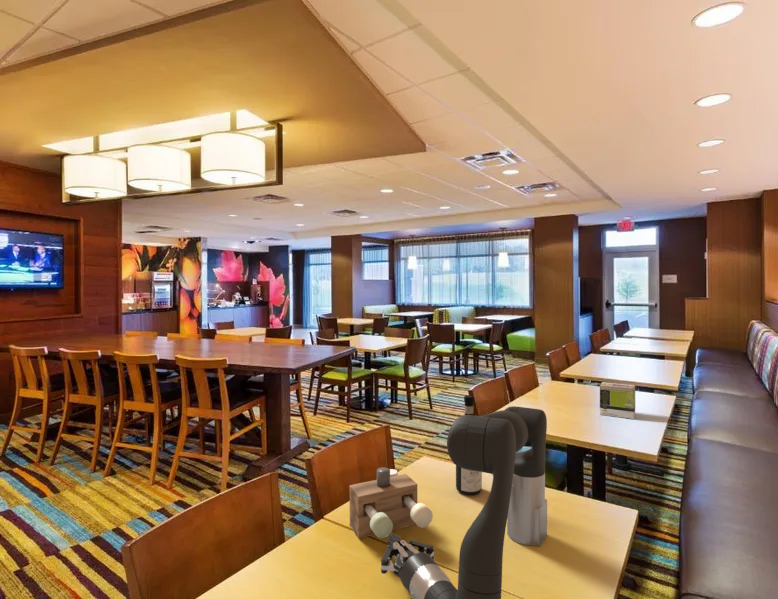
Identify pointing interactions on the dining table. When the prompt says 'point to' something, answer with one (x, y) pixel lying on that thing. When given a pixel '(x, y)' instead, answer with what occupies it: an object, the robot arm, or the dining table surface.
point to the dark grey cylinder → (383, 477)
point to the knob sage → (378, 521)
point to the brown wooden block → (381, 503)
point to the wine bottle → (466, 479)
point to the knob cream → (418, 512)
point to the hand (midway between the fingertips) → (391, 537)
